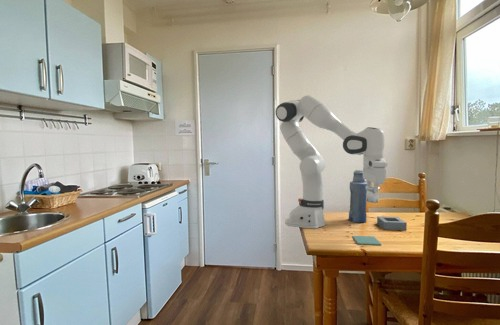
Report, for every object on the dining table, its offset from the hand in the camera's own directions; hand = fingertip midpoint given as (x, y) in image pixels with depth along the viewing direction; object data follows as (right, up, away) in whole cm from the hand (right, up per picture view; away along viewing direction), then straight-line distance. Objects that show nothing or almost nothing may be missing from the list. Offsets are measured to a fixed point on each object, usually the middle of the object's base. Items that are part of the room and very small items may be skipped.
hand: (372, 190), depth 128 cm
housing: (+19, -22, +19) cm, 34 cm away
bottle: (+5, -21, +31) cm, 38 cm away
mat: (-4, -23, -2) cm, 24 cm away
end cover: (0, -5, 0) cm, 5 cm away
